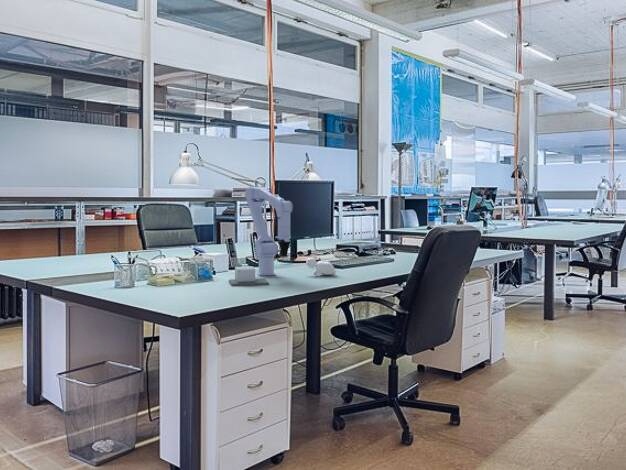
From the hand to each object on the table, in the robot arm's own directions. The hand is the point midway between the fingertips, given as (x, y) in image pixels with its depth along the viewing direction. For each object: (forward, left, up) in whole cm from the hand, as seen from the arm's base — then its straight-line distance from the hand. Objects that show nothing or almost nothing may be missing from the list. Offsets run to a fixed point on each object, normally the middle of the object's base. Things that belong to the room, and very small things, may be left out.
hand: (284, 256), depth 271 cm
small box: (+3, -19, -7) cm, 21 cm away
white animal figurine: (-7, +19, -11) cm, 23 cm away
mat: (+11, -18, -10) cm, 24 cm away
